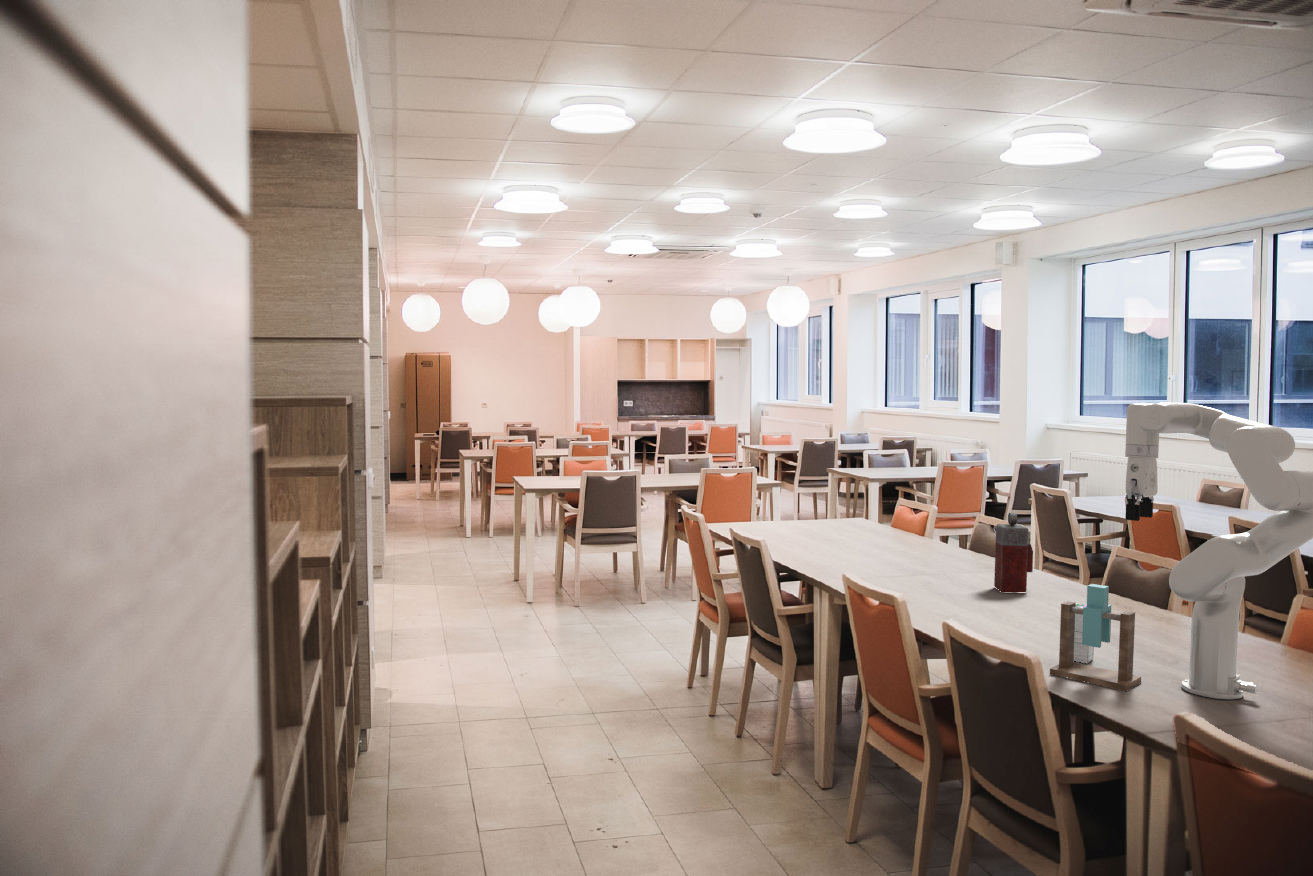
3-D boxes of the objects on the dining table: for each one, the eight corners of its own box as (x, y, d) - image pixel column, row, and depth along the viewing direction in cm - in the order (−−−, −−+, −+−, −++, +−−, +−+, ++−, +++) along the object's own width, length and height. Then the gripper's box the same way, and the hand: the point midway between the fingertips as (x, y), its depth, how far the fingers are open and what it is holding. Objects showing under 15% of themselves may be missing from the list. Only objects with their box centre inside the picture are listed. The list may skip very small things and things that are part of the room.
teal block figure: (1110, 641, 232) (1112, 585, 231) (1099, 647, 227) (1101, 589, 226) (1093, 638, 235) (1095, 582, 234) (1082, 644, 230) (1083, 587, 229)
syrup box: (1070, 655, 252) (1072, 602, 251) (1094, 660, 248) (1096, 605, 247) (1064, 660, 247) (1066, 605, 246) (1088, 664, 243) (1090, 609, 243)
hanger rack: (1140, 682, 228) (1143, 611, 228) (1126, 691, 221) (1129, 617, 221) (1065, 666, 241) (1068, 599, 240) (1049, 674, 234) (1052, 604, 233)
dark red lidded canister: (1033, 594, 331) (1036, 514, 329) (1000, 592, 332) (1003, 513, 331) (1025, 588, 340) (1028, 511, 338) (993, 587, 341) (996, 510, 339)
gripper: (1146, 453, 230) (1143, 523, 231) (1168, 451, 243) (1166, 517, 244) (1113, 452, 236) (1111, 520, 237) (1137, 449, 248) (1135, 514, 249)
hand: (1139, 518), depth 240 cm, fingers open, 9 cm apart
